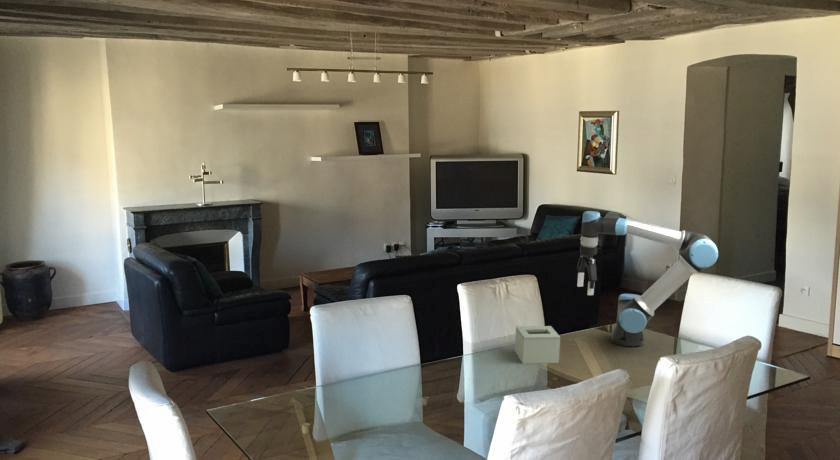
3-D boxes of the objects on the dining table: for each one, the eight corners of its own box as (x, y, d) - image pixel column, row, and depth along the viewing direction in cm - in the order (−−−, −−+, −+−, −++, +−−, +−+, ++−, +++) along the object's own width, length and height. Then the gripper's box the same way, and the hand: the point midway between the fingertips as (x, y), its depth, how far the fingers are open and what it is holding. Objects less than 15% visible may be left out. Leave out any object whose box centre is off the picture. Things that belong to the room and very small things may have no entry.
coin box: (548, 351, 327) (550, 326, 325) (558, 363, 314) (560, 337, 311) (514, 351, 325) (516, 326, 323) (522, 363, 312) (524, 337, 309)
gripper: (571, 239, 337) (568, 282, 341) (590, 252, 313) (586, 298, 317) (587, 239, 338) (583, 282, 342) (607, 252, 314) (603, 298, 318)
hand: (585, 290), depth 330 cm, fingers open, 13 cm apart
